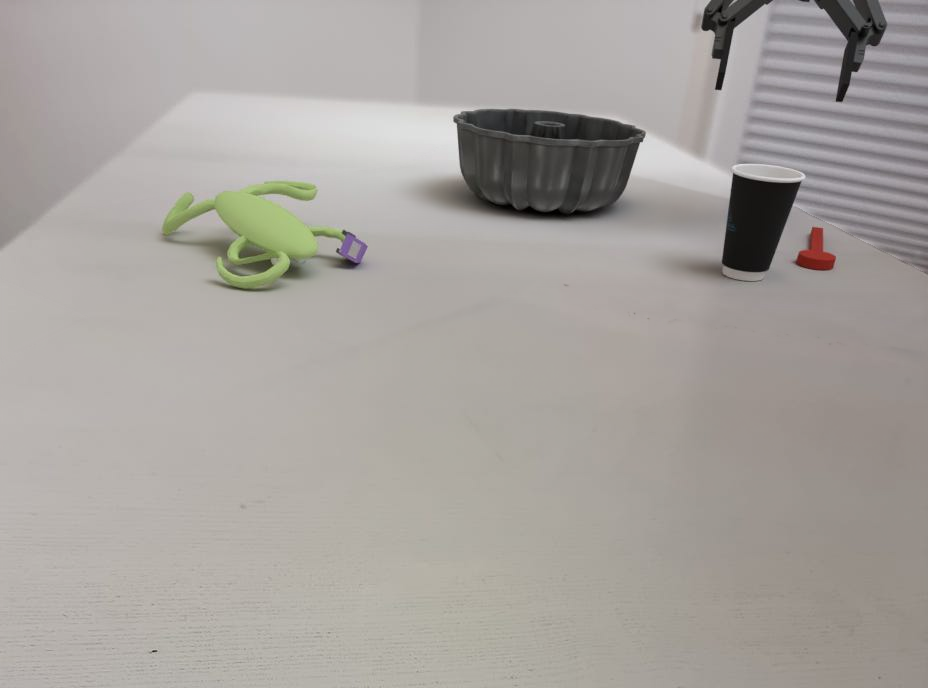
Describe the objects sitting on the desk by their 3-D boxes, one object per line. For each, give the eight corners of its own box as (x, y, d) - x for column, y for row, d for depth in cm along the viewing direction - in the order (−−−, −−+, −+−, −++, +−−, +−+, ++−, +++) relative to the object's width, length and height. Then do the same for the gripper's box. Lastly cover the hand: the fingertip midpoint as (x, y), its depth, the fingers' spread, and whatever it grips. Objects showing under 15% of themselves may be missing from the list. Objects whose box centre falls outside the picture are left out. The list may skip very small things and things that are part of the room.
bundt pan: (539, 174, 145) (546, 102, 139) (671, 211, 130) (686, 132, 124) (411, 191, 131) (413, 112, 125) (543, 235, 116) (553, 146, 110)
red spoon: (832, 237, 123) (835, 227, 123) (833, 272, 110) (836, 261, 109) (799, 232, 124) (801, 223, 124) (795, 266, 111) (798, 256, 110)
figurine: (299, 217, 116) (297, 168, 113) (397, 277, 98) (398, 221, 95) (154, 228, 108) (147, 176, 105) (231, 295, 90) (226, 235, 87)
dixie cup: (792, 280, 106) (821, 176, 99) (744, 288, 102) (770, 180, 95) (742, 262, 111) (766, 161, 104) (694, 268, 107) (716, 165, 101)
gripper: (910, -41, 108) (883, 121, 106) (697, -57, 112) (666, 100, 109) (936, -101, 101) (907, 73, 98) (707, -115, 104) (674, 51, 102)
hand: (780, 87), depth 104 cm, fingers open, 13 cm apart
